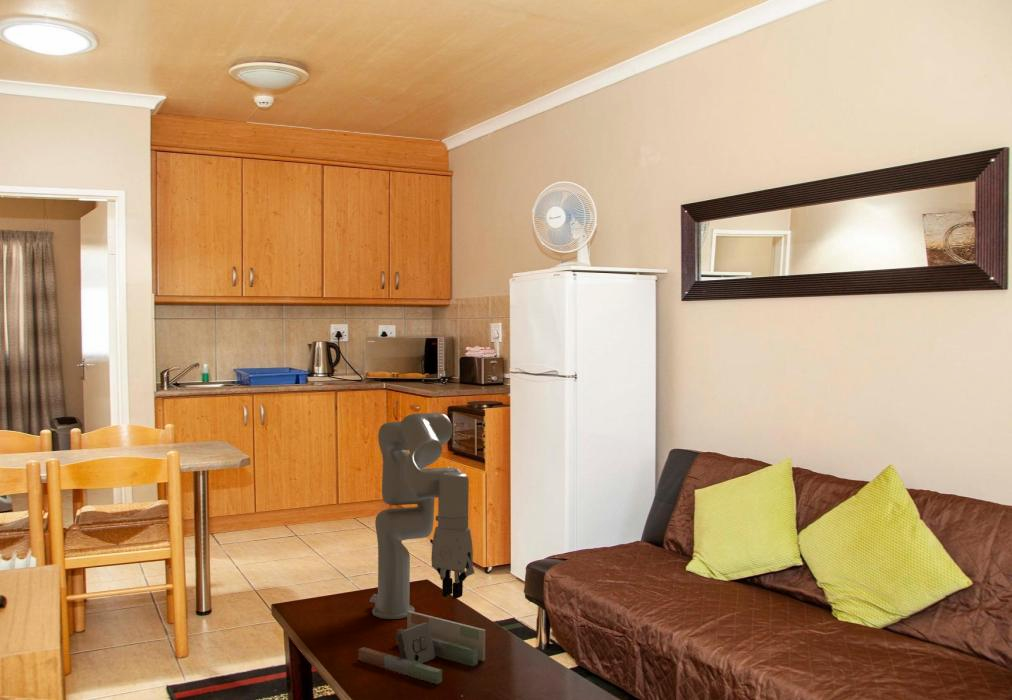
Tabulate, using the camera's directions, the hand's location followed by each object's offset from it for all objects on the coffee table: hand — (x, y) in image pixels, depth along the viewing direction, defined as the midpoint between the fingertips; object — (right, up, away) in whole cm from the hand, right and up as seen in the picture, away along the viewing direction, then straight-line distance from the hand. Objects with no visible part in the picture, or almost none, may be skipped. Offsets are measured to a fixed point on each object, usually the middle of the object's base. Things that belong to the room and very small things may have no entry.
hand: (452, 595), depth 215 cm
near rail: (-13, -19, +1) cm, 23 cm away
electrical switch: (-10, -19, +7) cm, 23 cm away
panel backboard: (-3, -19, +16) cm, 25 cm away
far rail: (-5, -19, +12) cm, 23 cm away
